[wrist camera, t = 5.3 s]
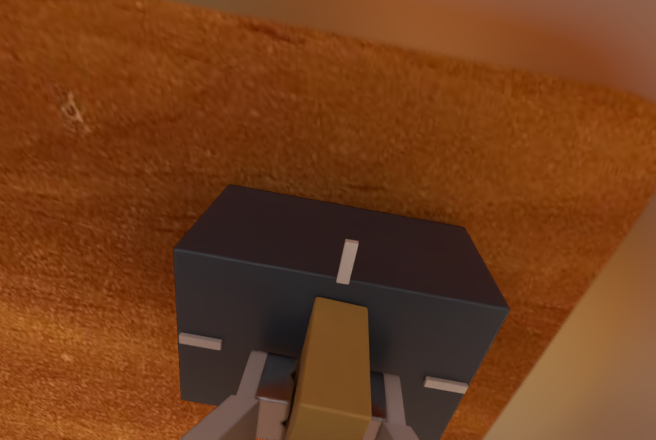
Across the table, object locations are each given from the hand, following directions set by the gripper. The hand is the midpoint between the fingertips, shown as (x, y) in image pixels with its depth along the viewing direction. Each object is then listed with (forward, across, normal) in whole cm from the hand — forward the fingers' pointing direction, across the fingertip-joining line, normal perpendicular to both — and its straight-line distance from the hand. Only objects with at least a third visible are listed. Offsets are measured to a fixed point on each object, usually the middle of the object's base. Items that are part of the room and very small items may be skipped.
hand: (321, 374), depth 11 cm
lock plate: (+6, 0, 0) cm, 6 cm away
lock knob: (+1, 0, 0) cm, 1 cm away
